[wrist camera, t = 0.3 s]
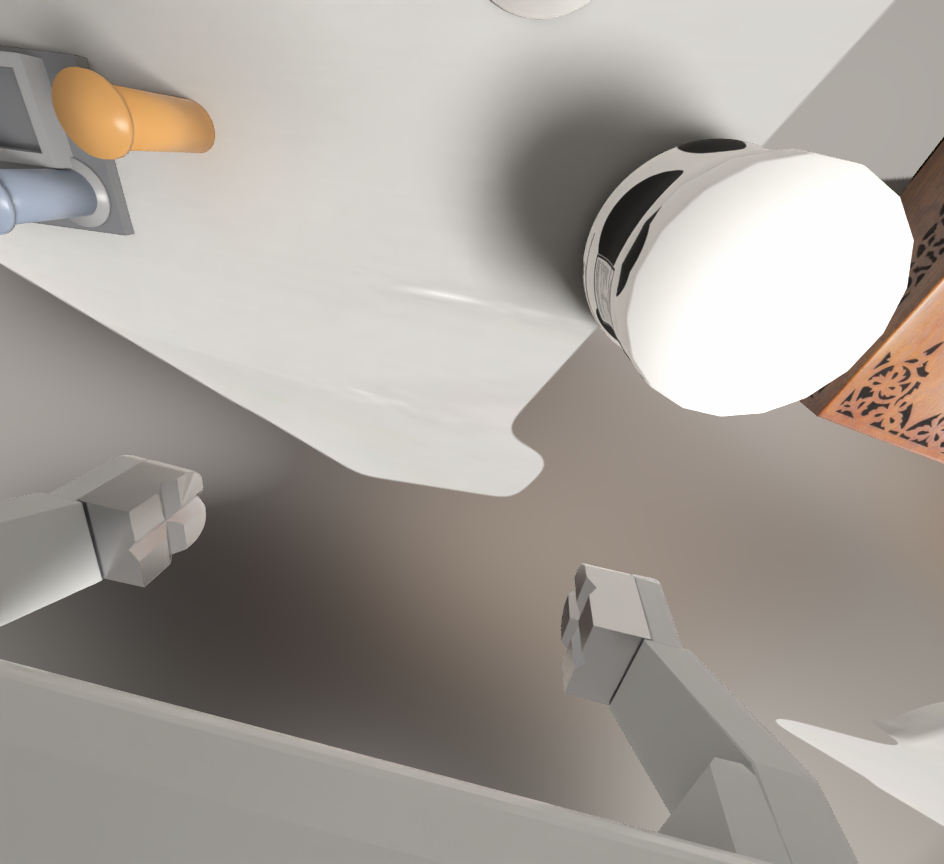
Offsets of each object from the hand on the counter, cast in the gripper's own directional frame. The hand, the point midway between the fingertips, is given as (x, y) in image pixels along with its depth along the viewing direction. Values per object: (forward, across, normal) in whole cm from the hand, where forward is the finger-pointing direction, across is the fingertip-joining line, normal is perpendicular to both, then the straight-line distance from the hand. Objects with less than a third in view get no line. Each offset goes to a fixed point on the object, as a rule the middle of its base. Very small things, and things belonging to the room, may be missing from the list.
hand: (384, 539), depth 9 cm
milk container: (+40, -14, -6) cm, 43 cm away
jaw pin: (+37, +31, -9) cm, 49 cm away
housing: (+36, +46, -5) cm, 58 cm away
